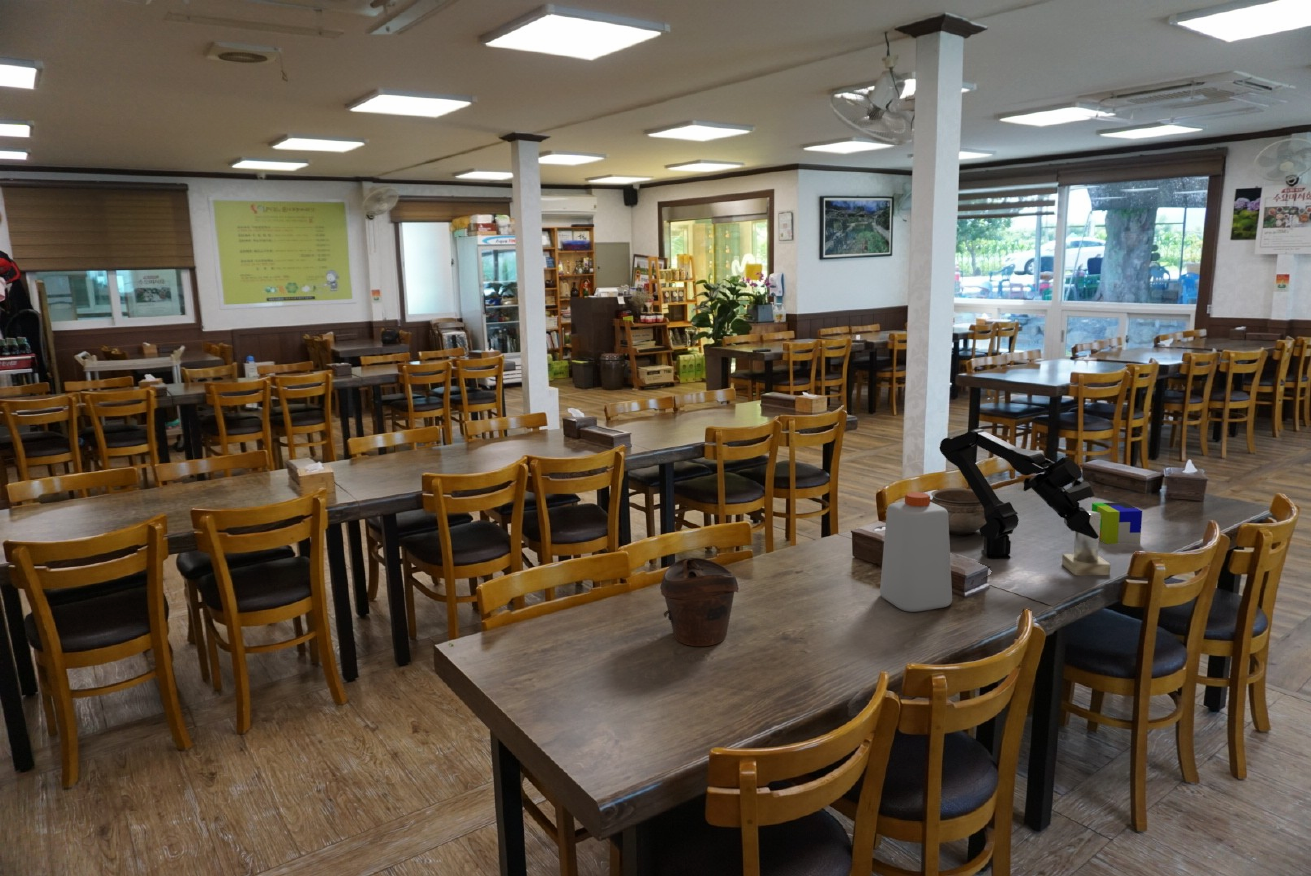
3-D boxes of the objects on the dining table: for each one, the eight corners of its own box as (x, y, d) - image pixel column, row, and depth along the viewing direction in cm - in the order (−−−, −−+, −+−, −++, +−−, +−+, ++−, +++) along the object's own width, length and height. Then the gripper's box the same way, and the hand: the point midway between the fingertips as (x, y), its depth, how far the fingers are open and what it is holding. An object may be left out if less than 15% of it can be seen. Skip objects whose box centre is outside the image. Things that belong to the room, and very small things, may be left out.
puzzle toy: (1140, 543, 254) (1142, 510, 252) (1106, 544, 255) (1108, 512, 253) (1122, 533, 264) (1124, 502, 262) (1090, 534, 264) (1092, 503, 262)
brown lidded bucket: (688, 613, 214) (686, 545, 211) (755, 632, 202) (754, 560, 198) (643, 638, 201) (639, 566, 198) (711, 659, 188) (709, 583, 185)
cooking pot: (1011, 533, 268) (1013, 496, 265) (979, 547, 256) (981, 508, 254) (940, 518, 287) (941, 483, 284) (908, 530, 275) (908, 493, 273)
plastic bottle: (905, 615, 208) (907, 505, 203) (873, 594, 222) (874, 490, 217) (958, 607, 212) (962, 498, 207) (924, 586, 226) (926, 484, 221)
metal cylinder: (1078, 562, 231) (1081, 516, 229) (1069, 555, 237) (1072, 510, 234) (1101, 562, 231) (1104, 516, 228) (1092, 555, 236) (1094, 510, 234)
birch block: (1075, 575, 230) (1076, 564, 230) (1061, 564, 239) (1062, 553, 238) (1109, 574, 230) (1110, 564, 229) (1094, 563, 238) (1095, 553, 238)
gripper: (1083, 481, 221) (1127, 523, 221) (1067, 465, 239) (1108, 504, 238) (1049, 509, 225) (1092, 551, 224) (1036, 491, 242) (1075, 530, 242)
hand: (1093, 532), depth 232 cm, fingers open, 9 cm apart
